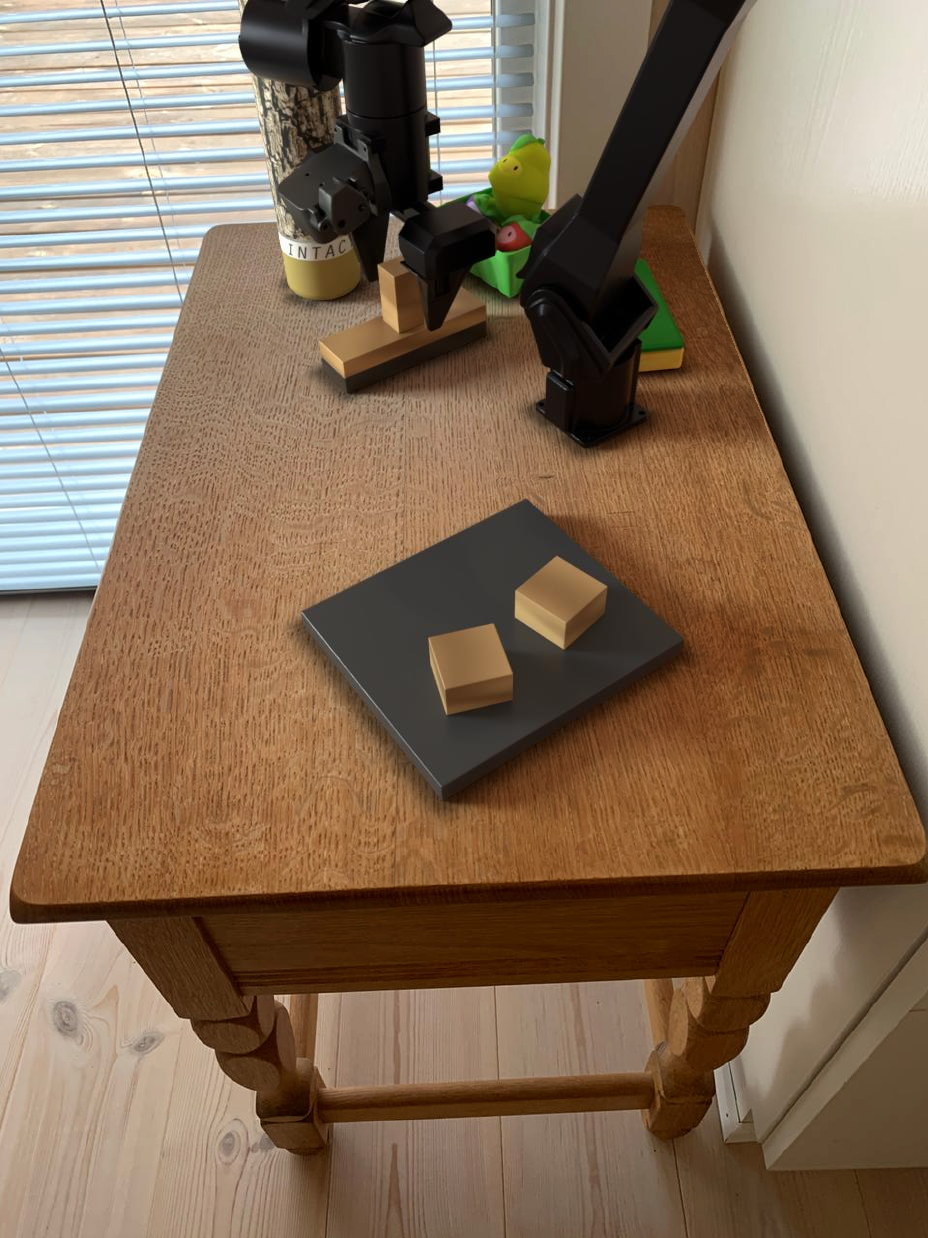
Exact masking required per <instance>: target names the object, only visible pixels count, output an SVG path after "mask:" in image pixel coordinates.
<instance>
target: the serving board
mask: <svg viewBox="0 0 928 1238" xmlns="http://www.w3.org/2000/svg"><path fill="white" fill-rule="evenodd" d="M556 556H558V557H560V558H561V559H563V560H565V561H566V562H568V563H570V564H571V565H573V566H575V567H576V568H578V569H579V570H581V571H583V572H584V573H586V574H588V575H589V576H591V577H593V578H594V579H596V580H598V581H599V582H601V583H603V584H604V585H606V586H607V595H606V603H605V612H604V614H603V615H602V616H601V617H600V618H599V619H598V620H597V621H595V622H594V623H593V624H592V625H591V626H590V627H589V628H588V629H587V630H586V631H584V632H583V633H582V634H581V635H580V636H579V637H578V638H577V639H576V640H574V641H573V642H572V643H571V644H570V645H569V646H568V647H567V648H566V649H565V650H564V649H562V648H560V647H559V646H557V645H556V644H554V643H553V642H551V641H550V640H548V639H547V638H545V637H544V636H542V635H541V634H539V633H538V632H536V631H535V630H533V629H532V628H530V627H529V626H527V625H526V624H524V623H523V622H521V621H520V620H518V619H517V618H515V591H516V590H517V589H518V588H519V587H520V586H521V585H523V584H524V583H525V582H526V581H527V580H529V579H530V578H531V577H532V576H533V575H535V574H536V573H537V572H538V571H539V570H541V569H542V568H543V567H544V566H545V565H547V564H548V563H549V562H550V561H551V560H553V559H554V558H555V557H556ZM300 613H301V614H300V615H301V618H302V622H303V627H304V628H305V630H306V631H307V632H308V633H309V634H310V636H311V637H312V639H313V640H314V641H315V642H316V643H317V645H318V646H319V647H320V648H321V649H322V651H323V652H324V654H325V655H326V656H327V657H328V659H329V660H330V661H331V662H332V664H333V665H334V666H335V668H336V669H337V670H338V672H339V673H340V674H341V675H342V677H344V679H345V680H346V681H347V683H348V684H349V686H351V688H352V689H353V690H354V691H355V693H356V694H357V696H359V698H360V699H361V700H362V702H363V703H364V704H365V705H366V707H367V708H368V709H369V710H370V712H371V713H372V715H374V717H375V718H376V719H377V720H378V721H379V723H380V725H382V727H383V728H384V729H385V731H386V732H387V733H388V734H389V736H390V737H391V739H393V741H394V742H395V744H396V745H397V746H398V747H399V748H400V750H401V751H402V753H404V755H405V757H407V759H408V760H409V762H411V763H412V765H413V766H414V767H415V769H416V770H417V771H418V772H419V774H420V775H421V776H422V777H423V779H424V780H425V781H426V783H427V784H428V786H430V787H431V789H432V790H433V791H434V792H435V794H436V795H437V796H438V798H439V799H440V800H441V801H442V802H444V801H446V800H447V799H449V798H451V797H453V796H454V795H456V794H457V793H459V792H461V791H462V790H464V789H465V788H467V787H468V786H470V785H472V784H473V783H475V782H477V781H478V780H480V779H481V778H483V777H485V776H486V775H488V774H489V773H491V772H492V771H494V770H496V769H498V768H499V767H501V766H503V765H504V764H505V763H507V762H509V761H511V760H512V759H514V758H516V757H517V756H519V755H520V754H522V753H523V752H525V751H526V750H529V749H530V748H532V747H533V746H535V745H536V744H538V743H539V742H542V741H543V740H544V739H546V738H548V737H549V736H551V735H552V734H554V733H556V732H558V731H560V730H561V729H562V728H564V727H566V726H567V725H569V724H570V723H572V722H574V721H575V720H577V719H579V718H580V717H582V716H583V715H585V714H587V713H588V712H590V711H591V710H593V709H595V708H596V707H598V706H599V705H601V704H603V703H604V702H606V701H607V700H610V699H611V698H612V697H614V696H615V695H617V694H619V693H620V692H622V691H624V690H626V689H627V688H629V687H630V686H632V685H633V684H635V683H637V682H638V681H640V680H642V679H643V678H645V677H646V676H648V675H649V674H651V673H652V672H654V671H656V670H658V669H660V668H661V667H662V666H664V665H665V664H667V663H669V662H670V661H672V660H674V659H675V658H677V657H678V656H681V655H682V653H683V648H684V643H685V637H684V636H682V635H681V634H680V633H679V632H678V631H677V630H676V629H674V628H673V627H672V626H671V625H670V624H669V623H668V622H667V621H665V619H663V618H662V617H661V616H660V615H659V614H657V613H656V612H655V611H654V610H653V609H652V608H651V607H650V606H648V605H647V604H646V603H645V602H644V601H643V600H641V599H640V597H638V596H637V595H636V594H635V593H633V591H632V590H630V589H629V587H627V586H626V585H625V584H624V583H623V582H621V581H620V580H619V579H618V578H617V577H615V575H614V574H612V573H611V572H610V571H609V570H608V569H607V568H605V566H603V565H602V563H600V562H599V561H598V560H597V559H596V558H594V557H593V556H592V555H591V554H590V553H589V552H588V551H586V550H585V549H584V548H583V547H582V546H581V545H579V543H578V542H576V541H575V540H574V539H573V538H572V537H571V536H570V535H568V534H567V532H565V531H564V530H563V529H562V528H560V526H558V525H557V524H556V523H555V522H553V520H551V519H550V518H549V517H548V516H547V515H545V514H544V512H542V511H541V510H540V509H539V508H538V507H536V505H534V504H533V503H532V502H531V501H530V500H529V499H528V498H524V499H522V500H520V501H518V502H516V503H514V504H512V505H509V506H508V507H506V508H504V509H502V510H499V511H498V512H496V513H494V514H492V515H490V516H488V517H486V518H484V519H482V520H480V521H478V522H476V523H475V524H472V525H470V526H468V527H466V528H464V529H462V530H460V531H459V532H457V533H454V534H453V535H450V536H449V537H446V538H445V539H443V540H441V541H438V542H436V543H434V544H432V545H431V546H429V547H426V548H425V549H423V550H420V551H419V552H417V553H414V554H413V555H411V556H409V557H407V558H405V559H403V560H400V561H399V562H396V563H394V564H393V565H391V566H389V567H387V568H384V569H383V570H381V571H378V572H377V573H375V574H373V575H371V576H369V577H366V578H365V579H363V580H361V581H359V582H357V583H355V584H353V585H351V586H349V587H347V588H345V589H343V590H341V591H339V592H337V593H335V594H333V595H331V596H329V597H327V598H326V599H323V600H321V601H319V602H317V603H315V604H313V605H312V606H309V607H308V608H307V607H306V608H305V609H303V610H301V612H300ZM488 624H494V625H495V628H496V630H497V633H498V636H499V638H500V641H501V643H502V646H503V649H504V651H505V654H506V657H507V659H508V662H509V664H510V667H511V670H512V672H513V700H510V701H506V702H502V703H498V704H493V705H489V706H485V707H480V708H476V709H472V710H468V711H463V712H459V713H455V714H450V715H447V714H446V712H445V708H444V705H443V702H442V699H441V696H440V692H439V689H438V686H437V683H436V680H435V677H434V673H433V670H432V667H431V663H430V651H429V640H428V639H429V637H433V636H438V635H443V634H447V633H452V632H456V631H461V630H465V629H470V628H474V627H479V626H483V625H488Z"/></svg>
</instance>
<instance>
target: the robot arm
mask: <svg viewBox="0 0 928 1238" xmlns="http://www.w3.org/2000/svg"><path fill="white" fill-rule="evenodd" d="M668 1H669V2H668V4H667V6H666V8H665V10H664V13H663V15H662V17H661V19H660V21H659V24H658V26H657V28H656V30H655V32H654V35H653V38H652V39H651V42H650V44H649V47H648V48H647V51H646V53H645V55H644V58H643V59H642V62H641V65H640V66H639V68H638V71H637V73H636V76H635V78H634V80H633V82H632V85H631V87H630V89H629V92H628V94H627V96H626V98H625V101H624V103H623V105H622V107H621V109H620V112H619V114H618V116H617V119H616V121H615V124H614V126H613V128H612V130H611V131H610V134H609V137H608V139H607V141H606V144H605V145H604V148H603V151H602V153H601V154H600V157H599V159H598V162H597V164H596V166H595V168H594V171H593V173H592V175H591V177H590V180H589V182H588V183H587V186H586V189H585V191H584V194H583V195H582V196H581V195H580V194H579V193H578V192H575V193H574V194H573V195H572V196H571V197H569V199H568V200H567V201H565V202H564V203H563V204H562V205H561V206H560V207H559V208H557V209H556V210H555V211H554V212H553V213H552V214H551V216H550V217H549V218H548V219H547V220H545V221H544V222H543V223H542V224H541V225H540V226H539V227H538V228H537V229H536V231H535V234H534V236H533V239H532V242H531V247H530V252H529V256H528V259H527V262H526V263H525V265H524V267H523V268H522V269H521V270H519V271H518V272H517V273H516V275H515V276H516V278H518V279H524V281H523V283H522V285H521V288H520V292H519V293H518V303H519V306H520V307H521V308H522V309H523V311H524V315H525V317H526V319H527V320H528V321H529V325H530V328H531V331H532V334H533V335H532V336H533V337H534V341H535V344H536V348H537V351H538V354H539V357H540V360H541V364H542V366H543V367H545V368H547V369H549V371H548V372H546V375H545V377H546V378H545V396H544V397H545V398H543V399H541V400H538V401H537V402H536V403H535V411H536V412H537V413H539V414H540V415H541V416H542V417H544V418H545V419H546V421H549V422H550V423H551V424H552V425H553V426H555V427H556V428H557V429H559V431H561V432H562V433H563V434H565V435H566V436H567V437H569V438H570V439H571V440H572V441H574V442H575V443H576V444H577V445H578V446H580V447H581V448H583V449H591V448H593V447H595V446H596V445H599V444H601V443H603V442H605V441H606V440H607V441H608V440H609V439H611V438H613V437H614V436H618V435H619V434H621V433H623V432H625V431H627V430H629V429H632V428H633V427H636V426H637V425H639V424H641V423H644V422H645V421H647V420H648V417H649V412H648V410H646V409H645V408H644V407H642V406H641V405H640V404H638V403H637V402H636V397H637V389H638V381H639V373H640V372H639V365H640V357H641V349H642V340H640V339H639V338H638V337H639V336H640V334H641V333H642V332H643V331H644V330H646V329H647V328H648V327H649V326H650V324H651V322H652V320H653V319H654V317H655V315H656V313H657V312H658V310H659V305H658V303H657V302H656V300H655V299H654V298H653V296H652V295H651V293H650V292H649V291H648V289H647V288H646V286H645V285H644V283H643V282H642V281H641V279H640V278H639V276H638V275H637V274H636V272H635V271H634V269H635V266H636V263H637V259H639V256H640V253H641V249H642V243H643V242H642V241H643V240H642V239H643V223H644V219H645V216H646V213H647V211H648V209H649V208H650V206H651V204H652V201H653V200H654V198H655V196H656V195H657V194H656V193H657V192H658V190H659V188H660V186H661V184H662V182H663V180H664V178H665V176H666V175H667V172H668V170H669V168H670V167H671V164H672V162H673V161H674V159H675V157H676V155H677V153H678V151H679V150H680V147H681V145H682V143H683V141H684V140H685V137H686V135H687V133H688V132H689V129H690V128H691V126H692V124H693V121H694V120H695V118H696V116H697V114H698V112H699V110H700V108H701V106H702V104H703V102H704V100H705V98H706V96H707V95H708V93H709V90H710V89H711V86H712V85H713V84H714V81H715V79H716V77H717V76H718V73H719V71H720V69H721V67H722V65H723V63H724V62H725V59H726V57H727V55H728V53H729V51H730V49H732V48H731V47H732V46H733V44H734V42H735V40H736V38H737V36H738V34H739V32H740V30H741V28H742V26H743V25H744V23H745V20H746V19H747V17H748V15H749V13H750V12H751V10H752V9H753V7H754V6H755V5H756V3H757V2H758V1H759V0H668ZM365 3H366V4H365ZM362 4H365V5H364V6H363V7H359V5H362ZM353 5H354V6H353ZM239 26H240V28H239V34H238V35H237V41H238V49H239V52H240V55H241V59H242V60H243V63H244V65H245V67H246V68H247V69H248V71H249V73H250V72H251V73H253V74H254V75H255V76H257V77H260V78H264V79H268V80H273V81H277V82H282V83H286V84H291V85H295V86H299V87H304V88H308V89H313V90H317V91H322V92H327V91H331V90H333V89H334V88H335V87H336V86H337V85H338V84H339V85H340V84H341V83H342V87H343V97H344V106H345V113H344V114H343V115H341V116H337V117H335V119H336V124H334V125H333V132H334V141H333V142H330V143H327V144H324V145H320V146H317V147H314V148H311V149H309V150H308V152H307V154H306V156H305V158H304V159H303V161H302V163H301V166H300V167H299V168H298V169H296V170H295V171H294V172H293V173H291V174H290V175H289V176H287V177H286V178H285V179H284V180H282V181H281V182H280V184H279V185H278V188H277V191H278V193H279V195H280V197H281V199H282V200H283V202H284V204H285V206H286V208H287V209H288V211H289V213H290V215H291V216H292V218H293V220H294V222H295V224H296V225H297V227H298V228H299V229H301V230H303V231H304V232H306V233H307V234H308V235H309V236H311V237H312V238H313V240H314V241H315V242H317V243H318V244H327V243H330V242H332V241H334V240H335V239H336V238H337V237H338V236H339V235H342V236H347V235H348V237H349V240H350V242H351V244H352V247H353V249H354V251H355V254H356V256H357V259H358V261H359V266H360V269H361V270H362V272H363V275H364V278H365V280H366V281H367V282H368V283H369V284H373V283H374V282H375V283H376V282H378V281H379V273H378V264H380V263H383V262H385V255H386V249H387V247H386V246H387V239H388V232H389V225H390V218H391V217H390V216H391V215H392V216H394V217H395V218H397V220H399V221H401V222H402V223H403V225H402V227H401V229H400V230H399V232H398V234H397V238H398V249H399V252H400V254H401V256H403V258H404V260H403V261H400V264H401V265H402V266H403V267H404V268H406V269H407V270H408V271H410V272H411V273H412V274H414V275H415V276H416V277H417V280H418V286H419V291H420V297H421V302H422V308H423V313H424V318H425V322H426V326H427V329H428V330H429V331H431V332H432V331H435V330H437V329H439V328H441V326H442V324H443V322H444V320H445V318H446V316H447V314H448V312H449V310H450V308H451V306H452V304H453V302H454V299H455V297H456V295H457V293H458V291H459V289H460V287H462V285H463V283H464V281H465V280H466V278H467V276H468V275H469V273H471V272H470V270H471V268H472V267H473V265H474V264H476V263H478V262H481V261H483V260H486V259H489V258H491V257H494V256H495V255H496V252H497V226H496V225H495V224H493V223H492V222H491V221H490V220H488V219H487V218H486V217H484V216H483V215H481V214H480V213H478V212H477V211H475V210H474V209H472V208H471V207H469V206H467V205H466V204H464V203H463V202H461V201H460V200H458V201H455V202H452V203H449V204H446V205H444V206H441V207H438V206H436V205H434V204H433V203H432V202H430V201H428V200H429V195H433V194H435V193H439V192H441V191H444V176H443V175H441V174H440V173H438V172H437V171H435V170H433V169H432V167H431V164H432V163H431V148H430V147H431V145H430V137H431V136H435V135H437V134H441V133H442V129H441V128H442V127H441V117H439V116H437V115H436V114H435V113H432V112H431V111H429V109H428V92H427V91H428V90H427V89H428V88H427V71H426V54H425V53H426V51H425V48H426V46H429V45H430V44H431V43H433V42H435V41H437V40H438V39H440V38H442V37H443V36H445V35H447V34H448V33H450V32H451V31H452V30H453V22H452V20H451V19H450V17H448V15H447V14H446V13H445V12H444V11H443V10H442V9H441V8H439V7H437V6H436V4H435V3H434V2H433V1H432V0H406V1H405V2H401V1H395V0H248V1H247V3H246V5H245V8H244V11H243V14H242V19H241V18H240V25H239ZM251 73H250V74H251Z"/></svg>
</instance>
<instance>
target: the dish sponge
mask: <svg viewBox="0 0 928 1238" xmlns="http://www.w3.org/2000/svg"><path fill="white" fill-rule="evenodd" d="M634 271H635V272H636V274H637V275H638V276H639V278H640V279H641V281H642V282H643V283H644V285H645V286H646V288H647V289H648V291H649V292H650V293H651V295H652V296H653V298H654V299H655V300H656V302H657V303H658V305H659V310H658V312H657V313H656V315H655V317H654V319H653V320H652V322H651V324H650V326H649V327H648V328H647V329H646V330H644V331H643V332H642V333H641V334H640V336H639V337H638V338H639V339H640V340H642V349H641V357H640V365H639V373H641V372H649V371H651V372H652V371H659V370H660V371H661V370H669V369H679V368H680V367H681V366H682V363H683V357H684V350H685V349H684V347H685V344H686V342H685V340H684V337H683V335H682V333H681V332H680V329H679V327H678V325H677V322H676V321H675V319H674V316H673V315H672V312H671V311H670V308H669V306H668V304H667V302H666V300H665V298H664V296H663V294H662V292H661V289H660V287H659V285H658V283H657V281H656V278H655V277H654V275H653V273H652V271H651V269H650V267H649V265H648V262H647V260H645V259H642V258H638V259H637V263H636V266H635V269H634Z"/></svg>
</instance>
